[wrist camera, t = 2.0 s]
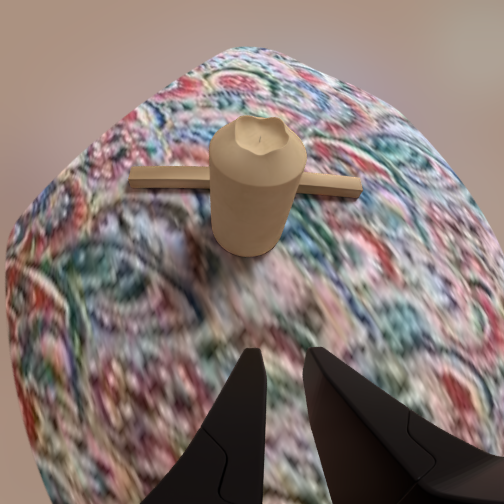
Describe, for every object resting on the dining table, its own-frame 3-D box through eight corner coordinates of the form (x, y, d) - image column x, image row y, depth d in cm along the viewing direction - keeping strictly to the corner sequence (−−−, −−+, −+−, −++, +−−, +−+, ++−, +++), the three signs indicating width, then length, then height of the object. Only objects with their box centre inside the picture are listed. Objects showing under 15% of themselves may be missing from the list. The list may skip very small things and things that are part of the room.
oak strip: (358, 198, 27) (362, 190, 26) (131, 187, 25) (128, 179, 24) (355, 185, 27) (359, 177, 26) (134, 175, 26) (131, 166, 25)
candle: (196, 225, 24) (186, 128, 15) (245, 186, 26) (258, 89, 17) (248, 272, 23) (265, 187, 14) (295, 227, 25) (332, 135, 16)
